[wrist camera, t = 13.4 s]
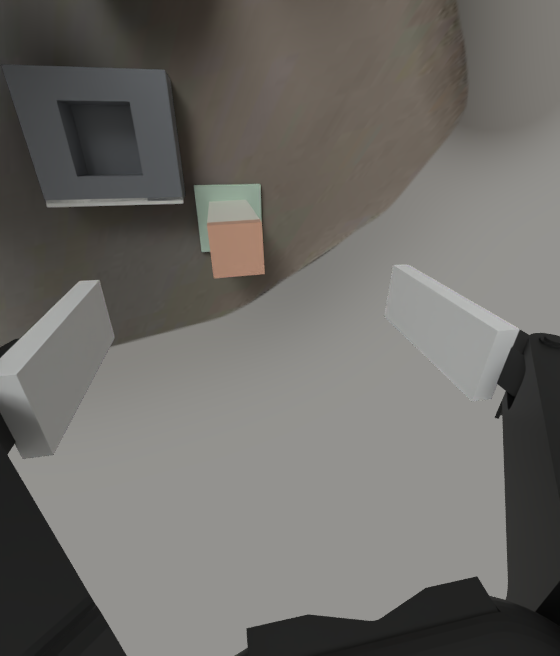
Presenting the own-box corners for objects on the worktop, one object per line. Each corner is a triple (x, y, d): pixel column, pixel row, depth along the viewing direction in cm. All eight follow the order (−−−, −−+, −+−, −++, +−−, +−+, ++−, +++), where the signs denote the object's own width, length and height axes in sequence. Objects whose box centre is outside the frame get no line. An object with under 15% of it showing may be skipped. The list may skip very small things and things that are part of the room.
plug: (213, 239, 37) (213, 278, 26) (209, 201, 35) (206, 225, 24) (249, 236, 38) (264, 274, 26) (246, 199, 36) (261, 222, 24)
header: (64, 201, 33) (47, 207, 30) (26, 75, 28) (0, 64, 25) (186, 198, 35) (183, 203, 32) (170, 79, 30) (164, 69, 27)
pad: (201, 250, 38) (201, 252, 37) (194, 185, 35) (193, 185, 34) (261, 247, 39) (262, 249, 38) (259, 183, 36) (260, 184, 35)
